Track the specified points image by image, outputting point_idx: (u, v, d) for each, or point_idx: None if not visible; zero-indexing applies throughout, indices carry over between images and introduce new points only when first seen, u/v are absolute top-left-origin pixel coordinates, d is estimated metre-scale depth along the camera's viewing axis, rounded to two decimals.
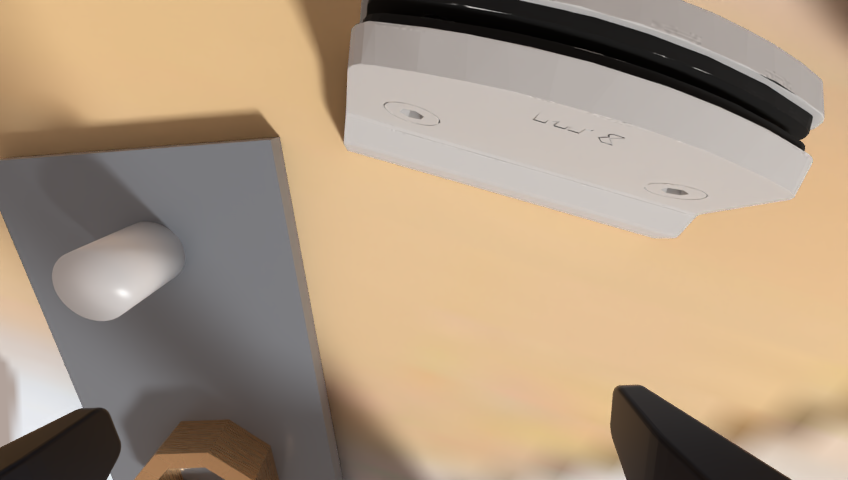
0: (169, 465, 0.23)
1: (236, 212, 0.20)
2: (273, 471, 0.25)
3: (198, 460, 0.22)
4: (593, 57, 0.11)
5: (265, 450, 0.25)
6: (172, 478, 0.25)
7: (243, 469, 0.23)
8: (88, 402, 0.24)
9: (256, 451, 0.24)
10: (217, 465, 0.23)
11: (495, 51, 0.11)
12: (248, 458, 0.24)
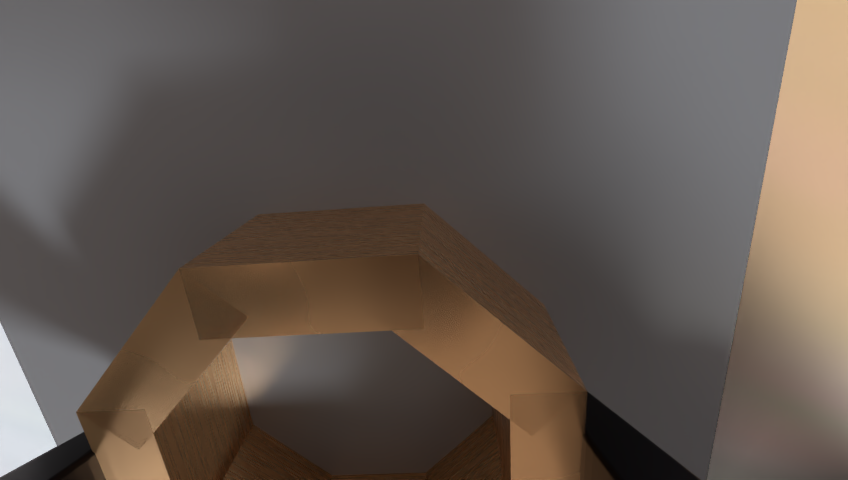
0: (239, 322, 0.05)
1: None
2: None
3: (367, 295, 0.05)
4: None
5: (543, 311, 0.07)
6: (226, 410, 0.08)
7: (540, 345, 0.06)
8: None
9: (529, 306, 0.07)
10: (446, 321, 0.05)
11: None
12: (527, 317, 0.06)
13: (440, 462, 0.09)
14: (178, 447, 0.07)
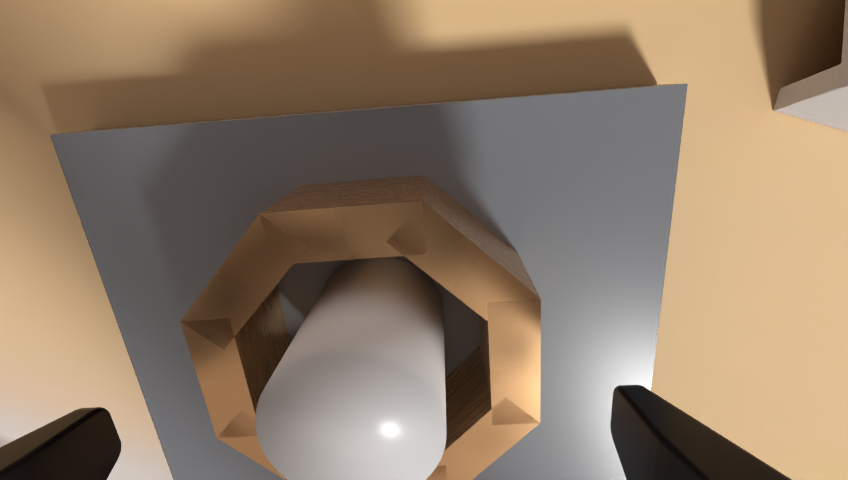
0: (299, 251, 0.08)
1: (569, 238, 0.10)
2: None
3: (387, 229, 0.08)
4: None
5: (516, 255, 0.10)
6: (275, 336, 0.10)
7: (507, 267, 0.08)
8: None
9: (504, 249, 0.09)
10: (442, 248, 0.08)
11: None
12: (501, 253, 0.09)
13: None
14: (248, 353, 0.09)
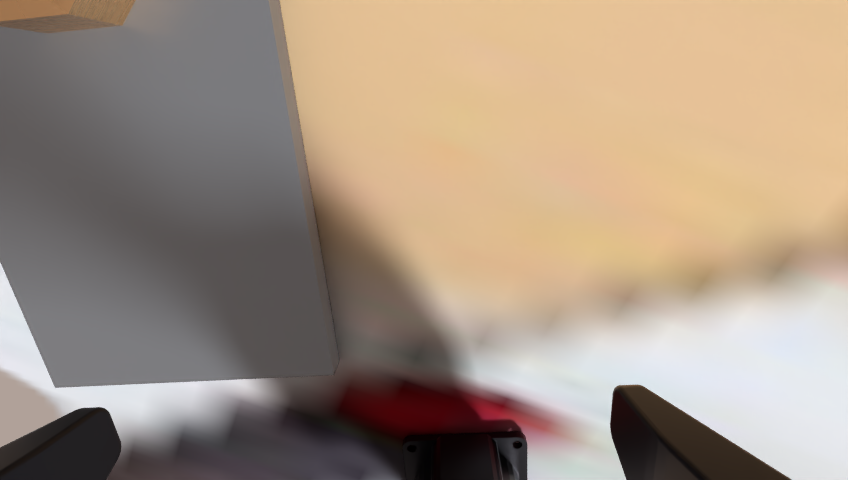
0: None
1: None
2: None
3: None
4: None
5: None
6: None
7: None
8: None
9: None
10: None
11: None
12: None
13: None
14: None
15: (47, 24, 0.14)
